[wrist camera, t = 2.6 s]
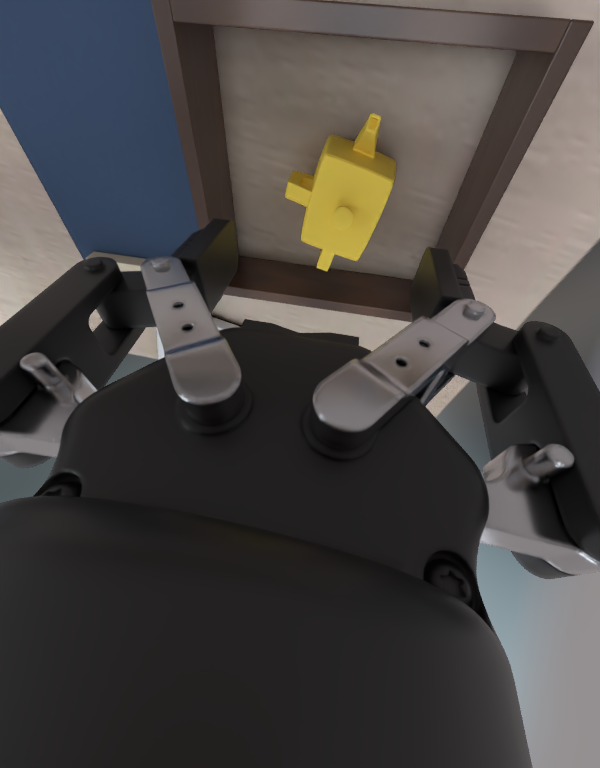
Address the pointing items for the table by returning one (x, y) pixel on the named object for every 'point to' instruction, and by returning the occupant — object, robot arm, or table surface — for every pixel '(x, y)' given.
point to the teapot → (344, 194)
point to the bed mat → (98, 123)
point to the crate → (424, 25)
